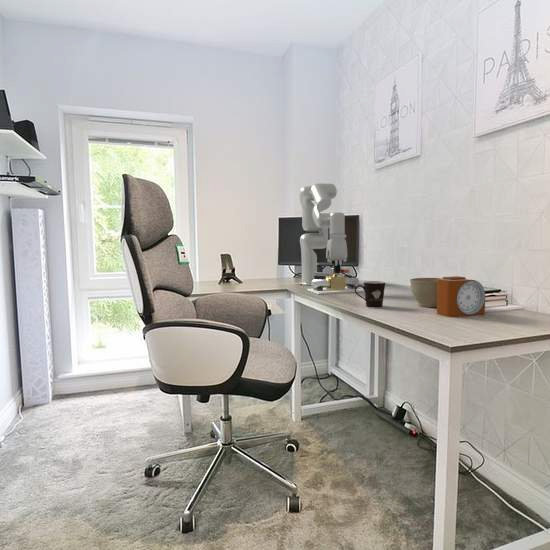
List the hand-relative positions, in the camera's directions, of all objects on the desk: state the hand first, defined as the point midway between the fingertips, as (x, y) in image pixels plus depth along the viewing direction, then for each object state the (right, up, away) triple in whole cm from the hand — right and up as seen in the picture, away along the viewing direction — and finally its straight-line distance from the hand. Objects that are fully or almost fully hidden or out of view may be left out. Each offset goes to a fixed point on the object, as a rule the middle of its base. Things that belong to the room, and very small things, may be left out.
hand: (337, 273), depth 193 cm
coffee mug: (+8, -14, -37) cm, 41 cm away
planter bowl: (+32, -14, -38) cm, 52 cm away
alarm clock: (+35, -15, -56) cm, 68 cm away
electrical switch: (-4, -9, +24) cm, 26 cm away
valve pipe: (+1, -10, +11) cm, 14 cm away
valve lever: (+2, +1, +4) cm, 5 cm away
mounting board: (+1, -10, +10) cm, 14 cm away
